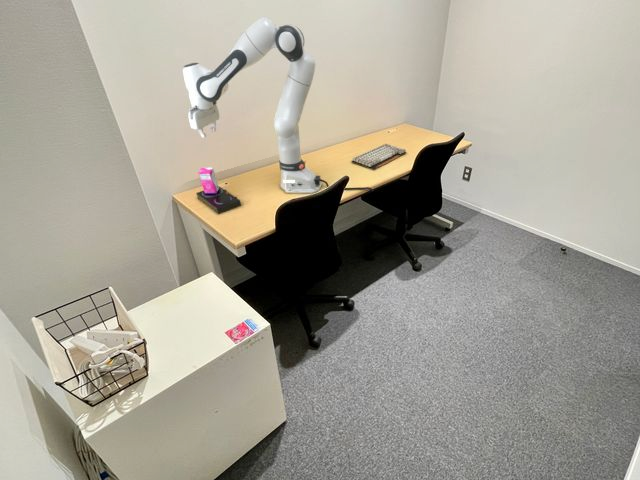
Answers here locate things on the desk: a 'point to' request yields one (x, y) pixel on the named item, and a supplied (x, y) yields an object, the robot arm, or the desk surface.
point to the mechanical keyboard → (378, 156)
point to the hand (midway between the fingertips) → (208, 134)
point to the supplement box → (208, 180)
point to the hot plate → (219, 200)
